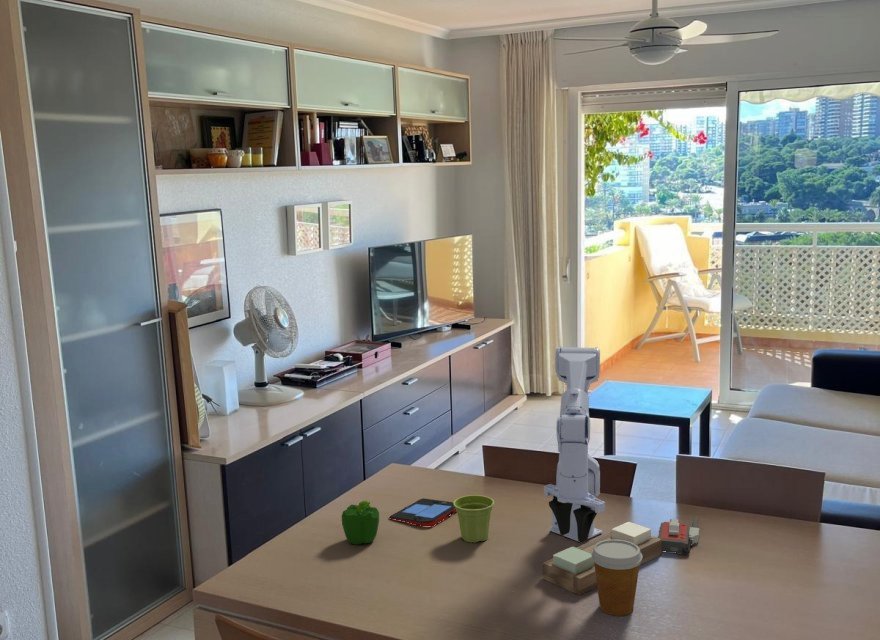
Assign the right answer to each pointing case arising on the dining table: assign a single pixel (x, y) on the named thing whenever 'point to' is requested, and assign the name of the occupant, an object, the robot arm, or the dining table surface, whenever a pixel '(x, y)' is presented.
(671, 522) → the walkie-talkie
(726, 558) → the dining table surface
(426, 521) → the game console
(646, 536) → the cream key
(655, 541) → the key base
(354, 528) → the bell pepper
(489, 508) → the plant pot
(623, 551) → the disposable coffee cup
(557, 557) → the sage key
